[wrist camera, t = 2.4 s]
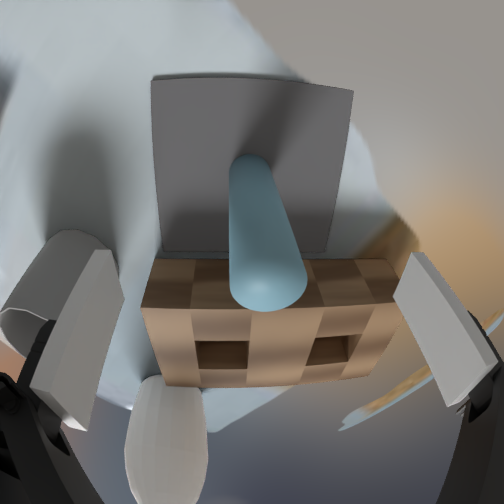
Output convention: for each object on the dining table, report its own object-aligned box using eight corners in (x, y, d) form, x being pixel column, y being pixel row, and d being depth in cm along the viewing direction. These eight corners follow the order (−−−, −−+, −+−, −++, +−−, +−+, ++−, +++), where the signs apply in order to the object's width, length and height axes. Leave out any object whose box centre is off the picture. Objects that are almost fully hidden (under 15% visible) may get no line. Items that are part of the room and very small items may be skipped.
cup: (83, 214, 22) (28, 294, 14) (135, 281, 27) (109, 369, 18) (33, 250, 24) (-14, 321, 15) (81, 305, 28) (51, 380, 20)
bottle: (145, 401, 42) (135, 542, 21) (124, 367, 35) (103, 543, 15) (211, 404, 42) (216, 551, 22) (204, 370, 36) (206, 559, 15)
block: (154, 258, 25) (140, 307, 20) (386, 258, 27) (412, 300, 22) (171, 341, 32) (166, 386, 27) (353, 336, 34) (368, 375, 29)
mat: (151, 80, 17) (150, 80, 16) (352, 90, 18) (353, 90, 18) (164, 249, 25) (163, 251, 24) (323, 250, 26) (324, 252, 26)
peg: (229, 153, 20) (230, 252, 10) (271, 154, 20) (313, 253, 11) (228, 191, 22) (229, 312, 12) (268, 192, 22) (300, 310, 12)
